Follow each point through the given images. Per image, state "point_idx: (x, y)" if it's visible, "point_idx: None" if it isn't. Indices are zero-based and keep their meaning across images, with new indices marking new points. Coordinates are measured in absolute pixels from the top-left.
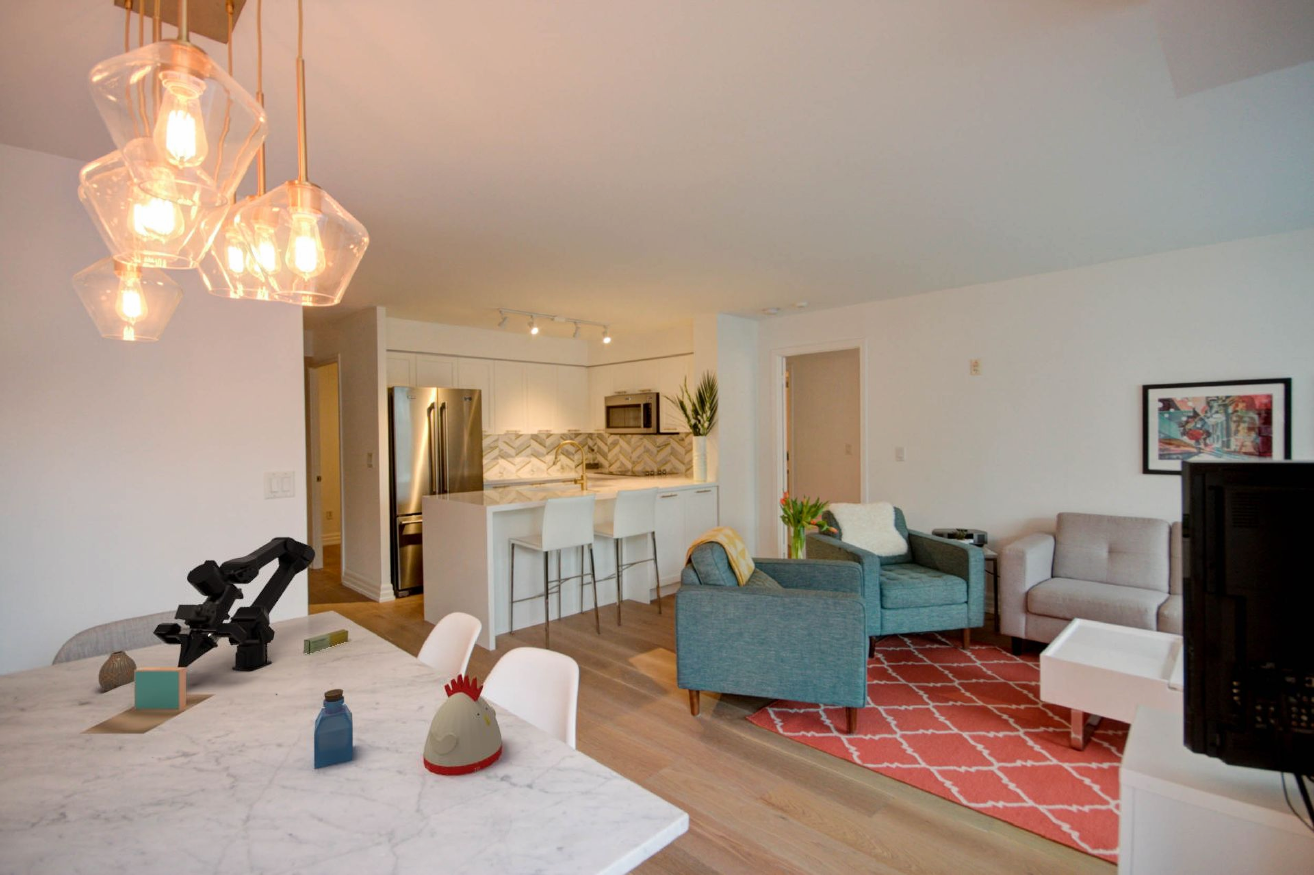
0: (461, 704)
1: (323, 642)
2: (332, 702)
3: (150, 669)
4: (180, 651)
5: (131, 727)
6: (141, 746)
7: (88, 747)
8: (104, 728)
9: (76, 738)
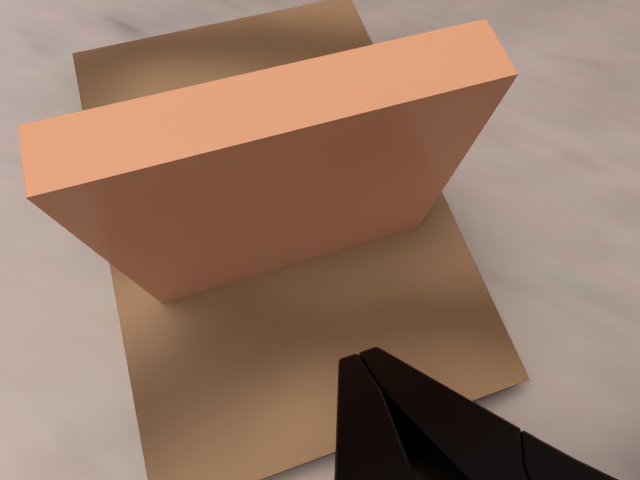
0: None
1: None
2: None
3: (358, 63)
4: (534, 439)
5: (191, 72)
6: (53, 51)
7: (253, 3)
8: (301, 40)
9: (384, 30)
